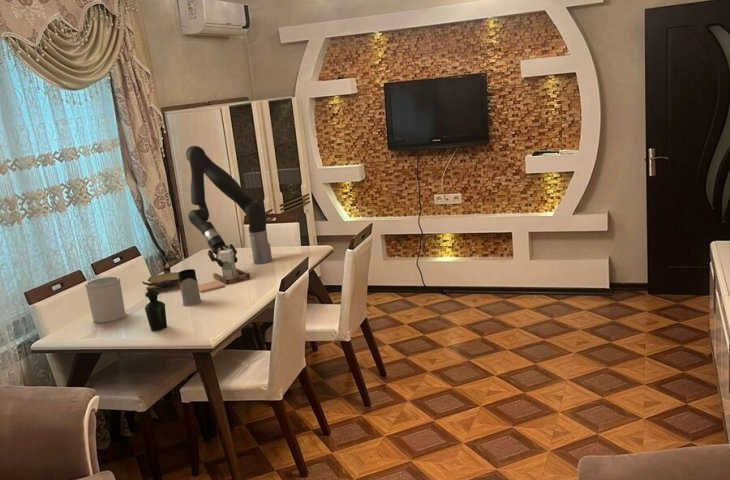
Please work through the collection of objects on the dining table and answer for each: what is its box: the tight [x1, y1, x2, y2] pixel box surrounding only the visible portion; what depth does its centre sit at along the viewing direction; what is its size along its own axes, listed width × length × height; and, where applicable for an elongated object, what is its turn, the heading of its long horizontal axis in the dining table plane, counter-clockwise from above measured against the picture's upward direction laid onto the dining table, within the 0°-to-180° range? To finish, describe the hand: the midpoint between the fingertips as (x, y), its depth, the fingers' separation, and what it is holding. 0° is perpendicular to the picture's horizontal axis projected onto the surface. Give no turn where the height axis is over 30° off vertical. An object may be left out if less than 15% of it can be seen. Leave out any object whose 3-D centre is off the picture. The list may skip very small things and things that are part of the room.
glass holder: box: [178, 268, 203, 307], centre depth 328 cm, size 9×14×15 cm, turn 15°
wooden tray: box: [212, 268, 251, 286], centre depth 361 cm, size 13×18×2 cm
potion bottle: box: [144, 285, 168, 332], centre depth 294 cm, size 8×8×18 cm
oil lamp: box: [141, 262, 180, 289], centre depth 364 cm, size 22×30×8 cm
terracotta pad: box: [198, 279, 226, 294], centre depth 350 cm, size 12×12×1 cm
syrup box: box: [219, 249, 238, 279], centre depth 361 cm, size 6×6×14 cm
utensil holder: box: [84, 275, 126, 324], centre depth 318 cm, size 15×15×18 cm
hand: (229, 263), depth 360 cm, fingers open, 8 cm apart
